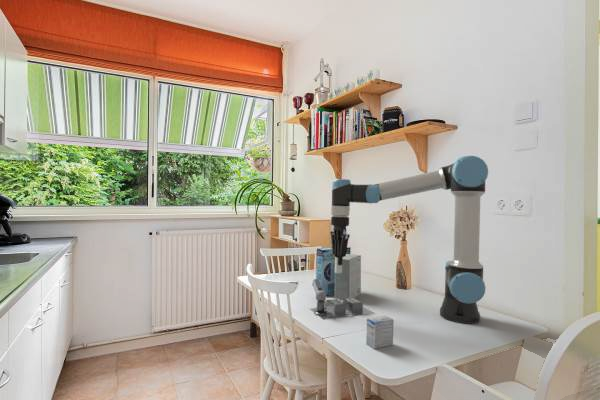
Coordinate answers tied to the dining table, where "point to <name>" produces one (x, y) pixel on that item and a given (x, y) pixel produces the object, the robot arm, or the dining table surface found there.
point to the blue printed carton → (327, 269)
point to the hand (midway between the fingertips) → (338, 272)
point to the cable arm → (319, 290)
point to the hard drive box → (349, 278)
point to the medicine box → (379, 332)
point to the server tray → (326, 314)
